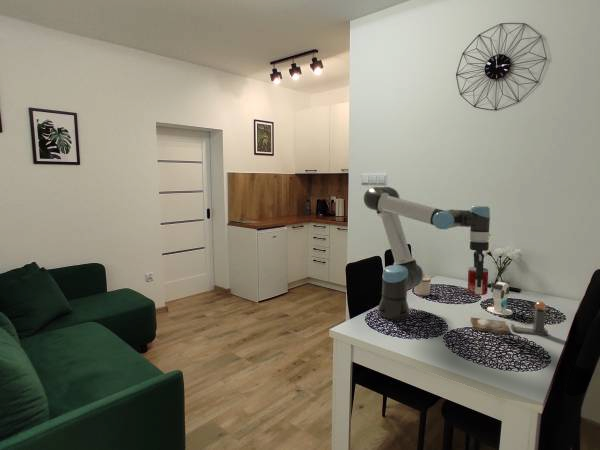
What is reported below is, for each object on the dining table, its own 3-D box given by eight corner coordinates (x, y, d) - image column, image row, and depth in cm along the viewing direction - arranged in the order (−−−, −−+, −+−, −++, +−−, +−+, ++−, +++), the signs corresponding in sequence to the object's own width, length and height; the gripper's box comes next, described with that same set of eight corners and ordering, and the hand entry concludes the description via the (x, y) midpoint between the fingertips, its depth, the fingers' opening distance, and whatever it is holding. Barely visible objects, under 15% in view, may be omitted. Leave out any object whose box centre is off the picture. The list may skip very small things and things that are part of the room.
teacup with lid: (432, 293, 215) (433, 273, 214) (426, 296, 209) (427, 276, 207) (413, 289, 223) (414, 270, 222) (406, 292, 217) (407, 273, 215)
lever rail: (512, 331, 161) (513, 327, 161) (510, 328, 164) (511, 324, 164) (547, 336, 156) (547, 331, 156) (544, 332, 160) (545, 328, 160)
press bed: (473, 329, 162) (473, 325, 162) (470, 320, 174) (471, 316, 173) (509, 334, 158) (509, 330, 157) (504, 324, 169) (504, 320, 169)
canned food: (489, 295, 161) (490, 271, 160) (469, 294, 162) (470, 270, 161) (484, 291, 168) (485, 267, 167) (465, 290, 170) (466, 266, 169)
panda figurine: (507, 317, 178) (509, 287, 176) (483, 311, 186) (485, 282, 185) (515, 311, 186) (518, 282, 184) (492, 305, 195) (494, 278, 193)
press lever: (534, 331, 158) (536, 302, 156) (531, 328, 162) (534, 299, 160) (545, 332, 157) (547, 303, 155) (542, 329, 160) (544, 301, 159)
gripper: (491, 244, 152) (489, 298, 154) (486, 238, 171) (484, 286, 173) (471, 243, 155) (470, 297, 157) (468, 237, 174) (466, 285, 176)
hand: (477, 291), depth 165 cm, fingers closed on canned food, 8 cm apart
